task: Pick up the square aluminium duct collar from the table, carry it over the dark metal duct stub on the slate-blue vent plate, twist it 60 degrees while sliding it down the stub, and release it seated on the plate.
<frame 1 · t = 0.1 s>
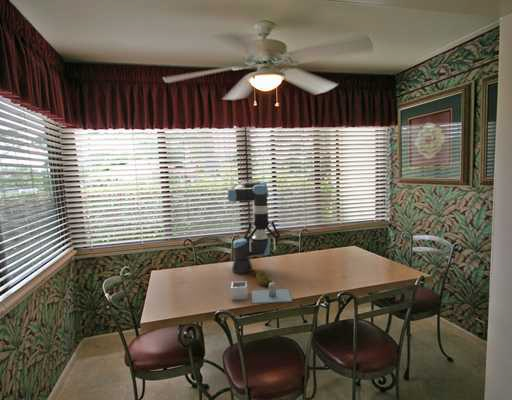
hand: (262, 250, 164), 28 cm above the table, fingers open, 13 cm apart
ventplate: (272, 296, 170), on the table
potato: (263, 284, 188), on the table
collar: (239, 296, 172), on the table
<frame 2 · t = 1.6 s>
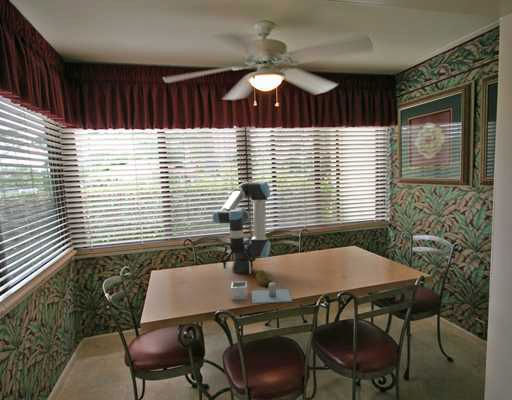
hand: (238, 273, 170), 14 cm above the table, fingers open, 13 cm apart
nothing on the table moved.
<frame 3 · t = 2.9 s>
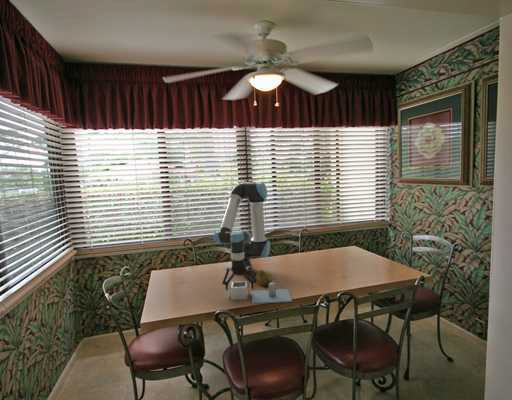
hand: (240, 294, 172), 1 cm above the table, fingers open, 12 cm apart
nothing on the table moved.
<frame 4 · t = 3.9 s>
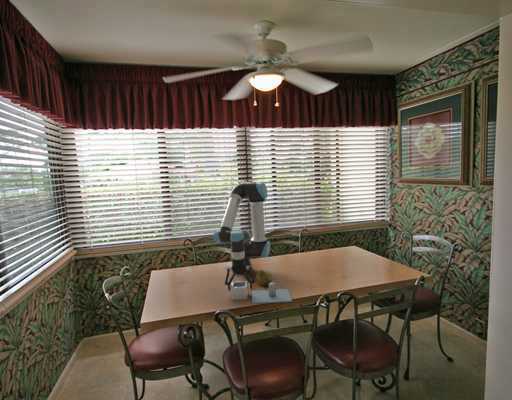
hand: (240, 295, 172), 1 cm above the table, fingers open, 10 cm apart
collar: (239, 296, 172), on the table, touching gripper
everything else where it was.
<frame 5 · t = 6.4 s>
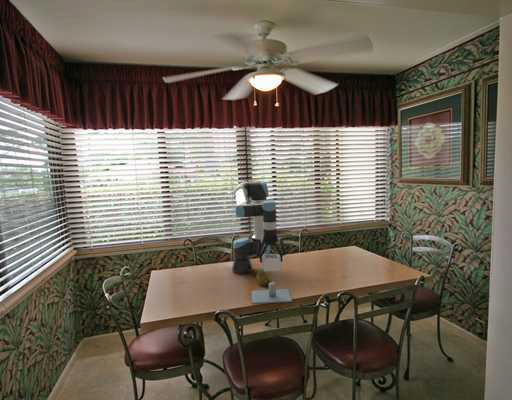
hand: (271, 267, 168), 17 cm above the table, fingers closed on collar, 9 cm apart
collar: (271, 268, 168), point 17 cm above the table, touching gripper
everything else where it was.
when the fingers open (2 cm above the table, at t = 8.9 s): collar drops 1 cm, resting on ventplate.
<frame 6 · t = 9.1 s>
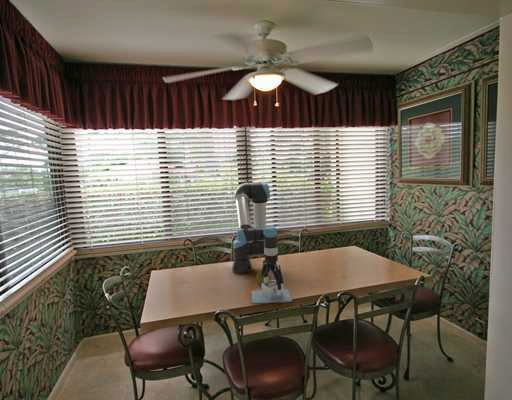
hand: (272, 291, 169), 3 cm above the table, fingers open, 11 cm apart
collar: (272, 295, 169), point 1 cm above the table, touching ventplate
everything else where it was.
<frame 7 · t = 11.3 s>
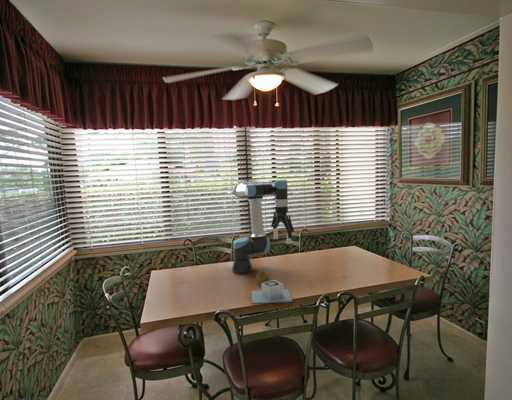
hand: (282, 241, 177), 30 cm above the table, fingers open, 13 cm apart
nothing on the table moved.
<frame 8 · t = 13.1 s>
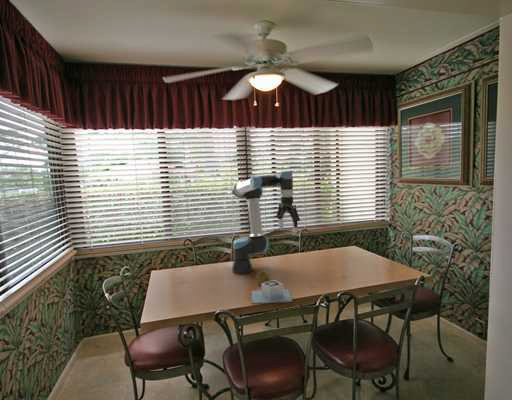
hand: (287, 230, 181), 35 cm above the table, fingers open, 13 cm apart
nothing on the table moved.
at the end: collar 0.1 cm off-centre on the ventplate, point 0.6 cm above the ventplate's base; the gripper is holding nothing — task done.
